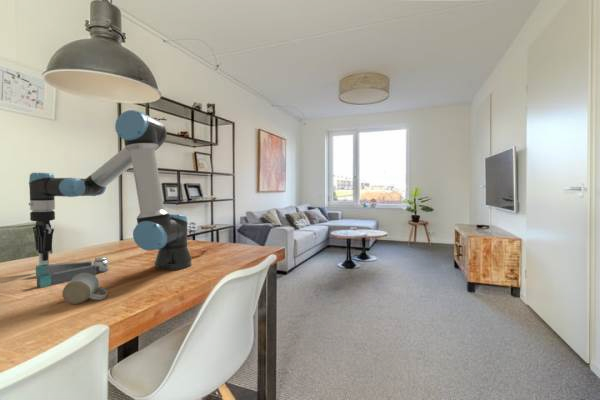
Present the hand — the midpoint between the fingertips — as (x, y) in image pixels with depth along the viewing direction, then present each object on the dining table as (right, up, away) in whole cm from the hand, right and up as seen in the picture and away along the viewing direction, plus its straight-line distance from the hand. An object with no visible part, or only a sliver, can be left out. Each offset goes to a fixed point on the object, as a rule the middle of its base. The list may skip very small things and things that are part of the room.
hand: (44, 268), depth 119 cm
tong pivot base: (+18, -2, -7) cm, 20 cm away
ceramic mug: (+38, -3, -29) cm, 48 cm away
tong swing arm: (+14, -1, -2) cm, 14 cm away
